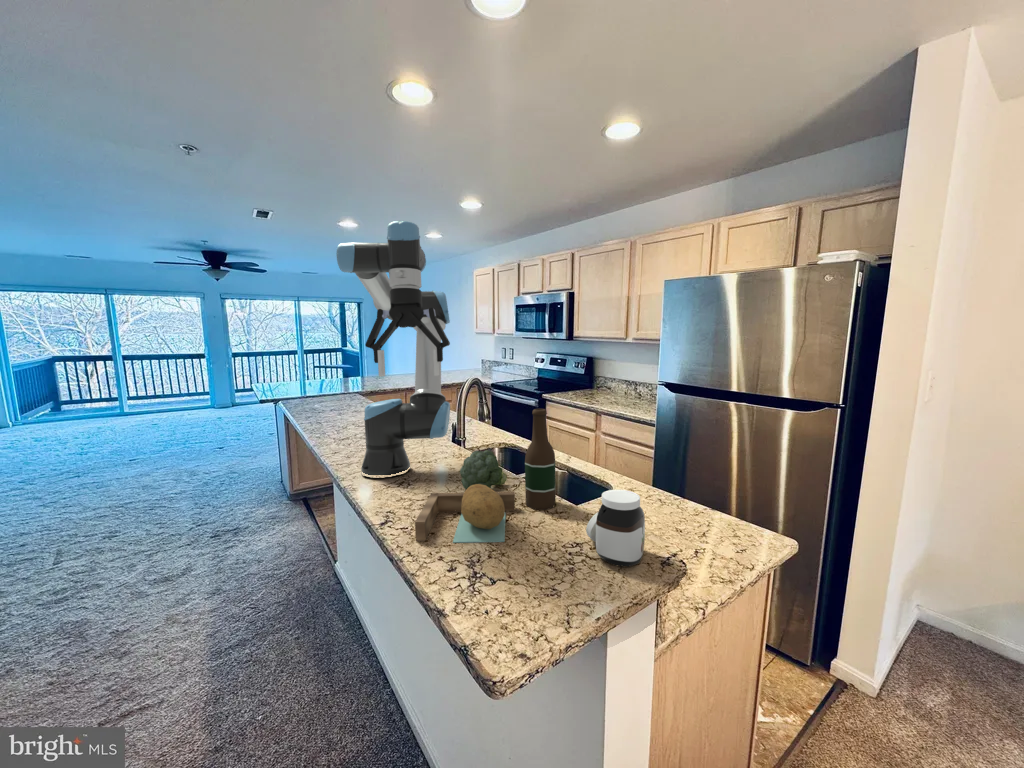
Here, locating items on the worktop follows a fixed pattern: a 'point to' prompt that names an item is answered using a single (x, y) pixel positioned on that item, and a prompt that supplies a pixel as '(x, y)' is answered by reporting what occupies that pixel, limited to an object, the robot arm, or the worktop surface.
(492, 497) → the potato
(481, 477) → the vegetable
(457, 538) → the pad
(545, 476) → the beer bottle
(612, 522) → the spread jar
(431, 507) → the corner arena
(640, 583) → the worktop surface
